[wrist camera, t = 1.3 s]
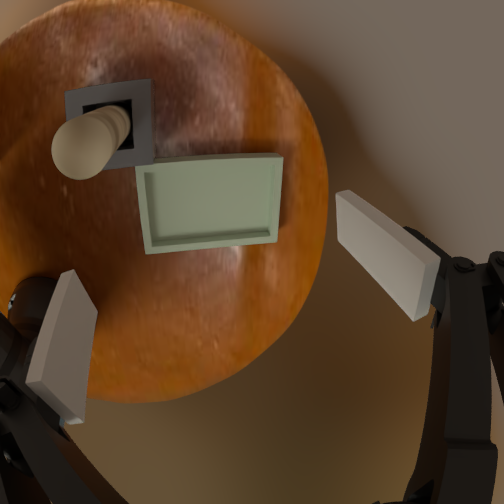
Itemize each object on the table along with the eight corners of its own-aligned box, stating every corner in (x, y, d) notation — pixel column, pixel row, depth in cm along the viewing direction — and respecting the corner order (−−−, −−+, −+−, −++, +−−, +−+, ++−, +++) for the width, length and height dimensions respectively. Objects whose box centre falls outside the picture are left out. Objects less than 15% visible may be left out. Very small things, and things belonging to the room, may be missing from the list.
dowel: (101, 140, 33) (56, 183, 18) (99, 104, 30) (48, 123, 16) (136, 135, 34) (113, 175, 19) (135, 100, 31) (107, 112, 17)
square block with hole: (87, 158, 34) (72, 174, 28) (82, 89, 29) (64, 91, 24) (156, 150, 36) (153, 164, 30) (154, 79, 32) (150, 78, 26)
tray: (146, 244, 42) (145, 254, 40) (137, 160, 36) (135, 165, 34) (271, 233, 46) (277, 242, 44) (276, 152, 40) (283, 157, 38)
